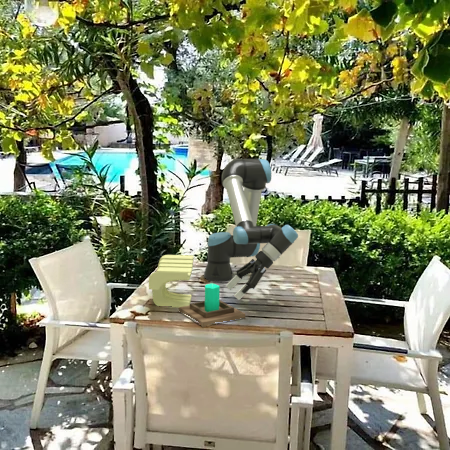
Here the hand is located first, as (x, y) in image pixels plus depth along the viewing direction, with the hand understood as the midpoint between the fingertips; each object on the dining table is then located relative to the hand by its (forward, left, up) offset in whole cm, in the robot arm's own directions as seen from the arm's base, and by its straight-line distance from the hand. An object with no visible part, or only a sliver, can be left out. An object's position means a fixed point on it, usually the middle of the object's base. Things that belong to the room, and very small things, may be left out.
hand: (231, 292), depth 212 cm
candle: (-3, -8, -7) cm, 11 cm away
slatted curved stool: (-25, -15, -9) cm, 31 cm away
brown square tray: (-3, -8, -9) cm, 12 cm away
